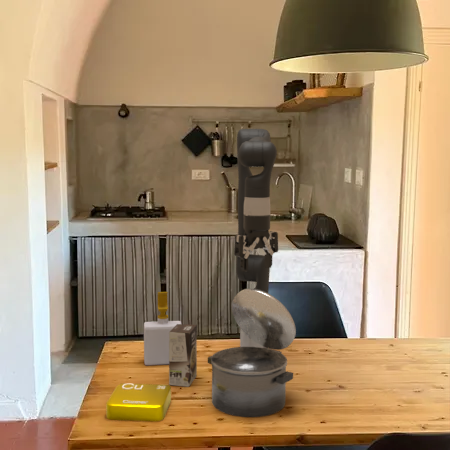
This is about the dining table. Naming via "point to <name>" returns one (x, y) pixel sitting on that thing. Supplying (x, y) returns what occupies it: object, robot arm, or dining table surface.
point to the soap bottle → (158, 335)
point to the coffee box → (182, 355)
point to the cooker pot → (249, 381)
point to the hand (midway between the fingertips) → (256, 269)
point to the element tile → (138, 402)
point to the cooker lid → (263, 319)
